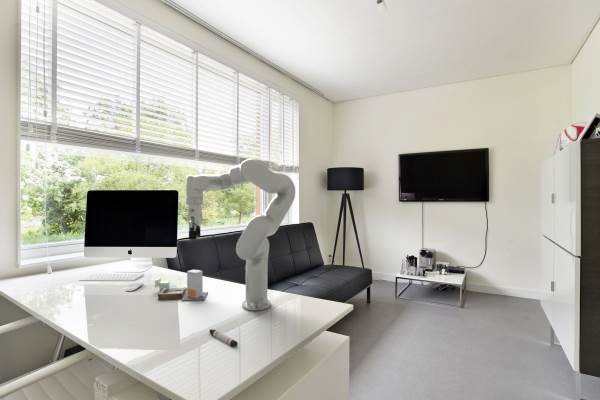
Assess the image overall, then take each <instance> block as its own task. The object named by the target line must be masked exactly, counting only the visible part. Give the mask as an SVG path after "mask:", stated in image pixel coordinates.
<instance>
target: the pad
mask: <svg viewBox="0 0 600 400" xmlns="http://www.w3.org/2000/svg"><path fill="white" fill-rule="evenodd" d="M208 293H209V292H208V291H203V295H202V296H200V297H198V298H194V297H190V296H187V292H186V293H185V295H184V296H183V298H182V299H181V302H195V301H197V302H199V301H202V302H203V301H205V300H206V298H207V296H208Z"/></svg>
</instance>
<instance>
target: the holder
mask: <svg viewBox="0 0 600 400" xmlns="http://www.w3.org/2000/svg"><path fill="white" fill-rule="evenodd" d="M186 293H187V286H186V287H185V286H184V287H174V288H173V287H172V288H169V289H168V290H167V288H164V289H163V290H159V293H158V294H157V300H159V301H160V300H163V301H164V300H182V299H183V297H184V296H185V295H186Z"/></svg>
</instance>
